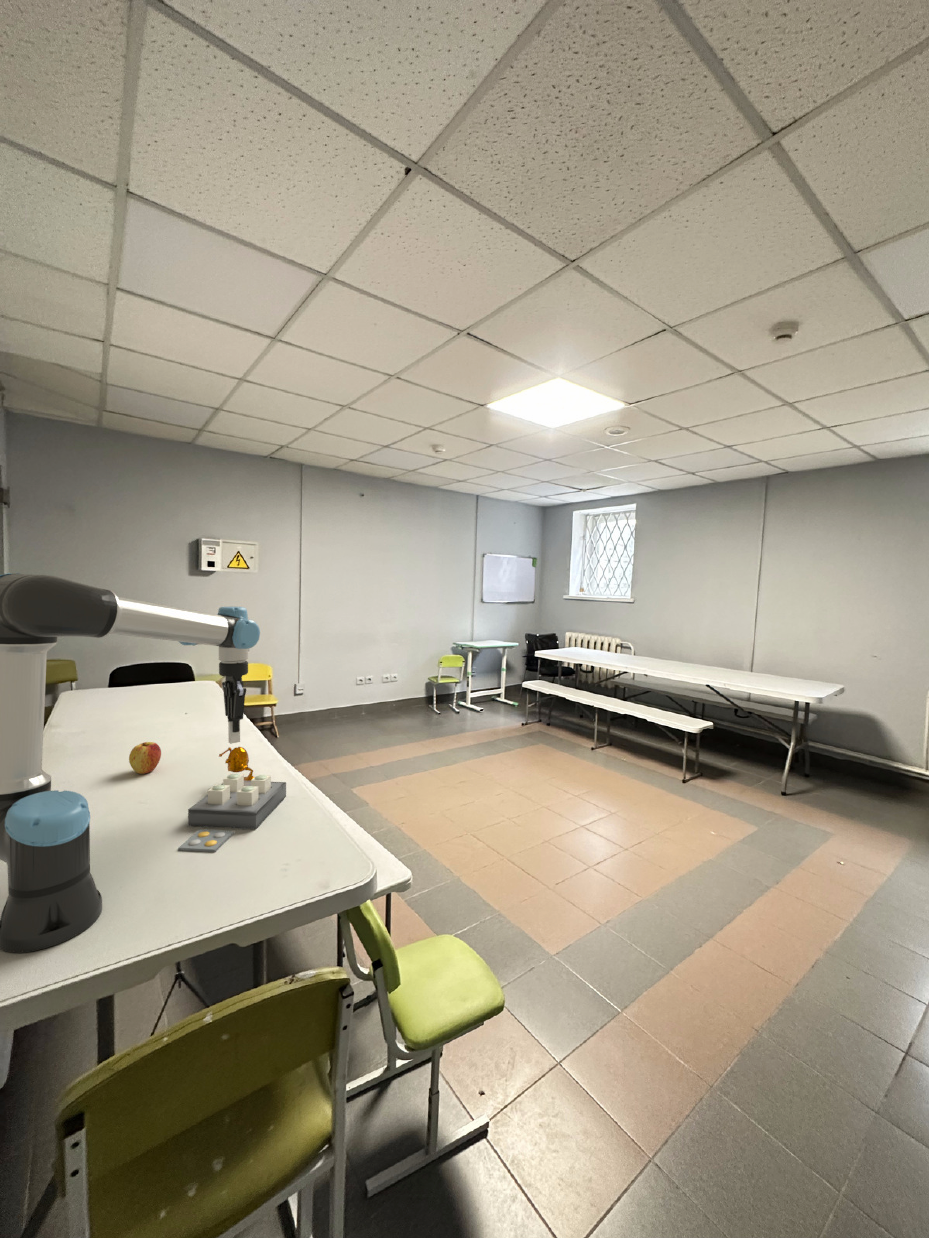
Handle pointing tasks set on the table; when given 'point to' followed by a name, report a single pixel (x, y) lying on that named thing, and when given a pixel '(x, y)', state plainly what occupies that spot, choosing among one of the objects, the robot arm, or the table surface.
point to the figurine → (238, 761)
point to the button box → (237, 810)
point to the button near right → (247, 796)
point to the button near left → (219, 794)
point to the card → (206, 840)
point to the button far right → (262, 783)
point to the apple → (145, 757)
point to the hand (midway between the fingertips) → (234, 742)
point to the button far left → (234, 782)
